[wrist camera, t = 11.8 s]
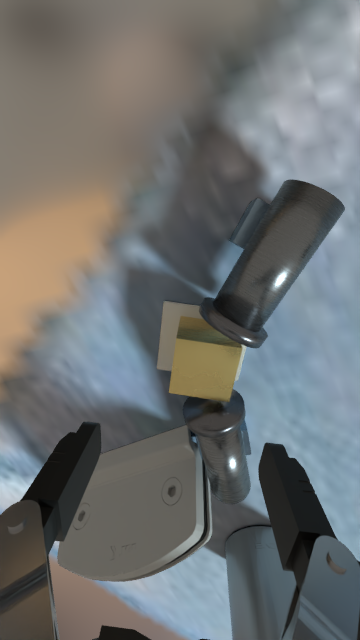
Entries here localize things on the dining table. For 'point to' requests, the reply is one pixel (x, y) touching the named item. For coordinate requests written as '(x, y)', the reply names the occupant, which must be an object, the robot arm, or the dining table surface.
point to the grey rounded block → (141, 510)
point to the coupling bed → (169, 333)
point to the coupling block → (203, 361)
